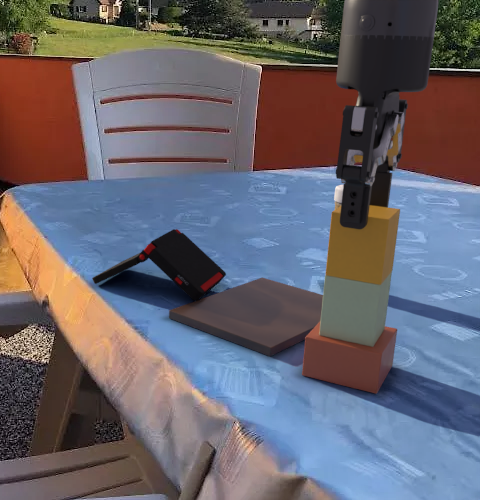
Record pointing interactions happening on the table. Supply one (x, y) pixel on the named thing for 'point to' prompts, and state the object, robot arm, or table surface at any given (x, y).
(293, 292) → the board
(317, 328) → the base block
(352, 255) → the top block
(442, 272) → the table surface
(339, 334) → the middle block
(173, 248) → the handheld gaming console
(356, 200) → the robot arm
